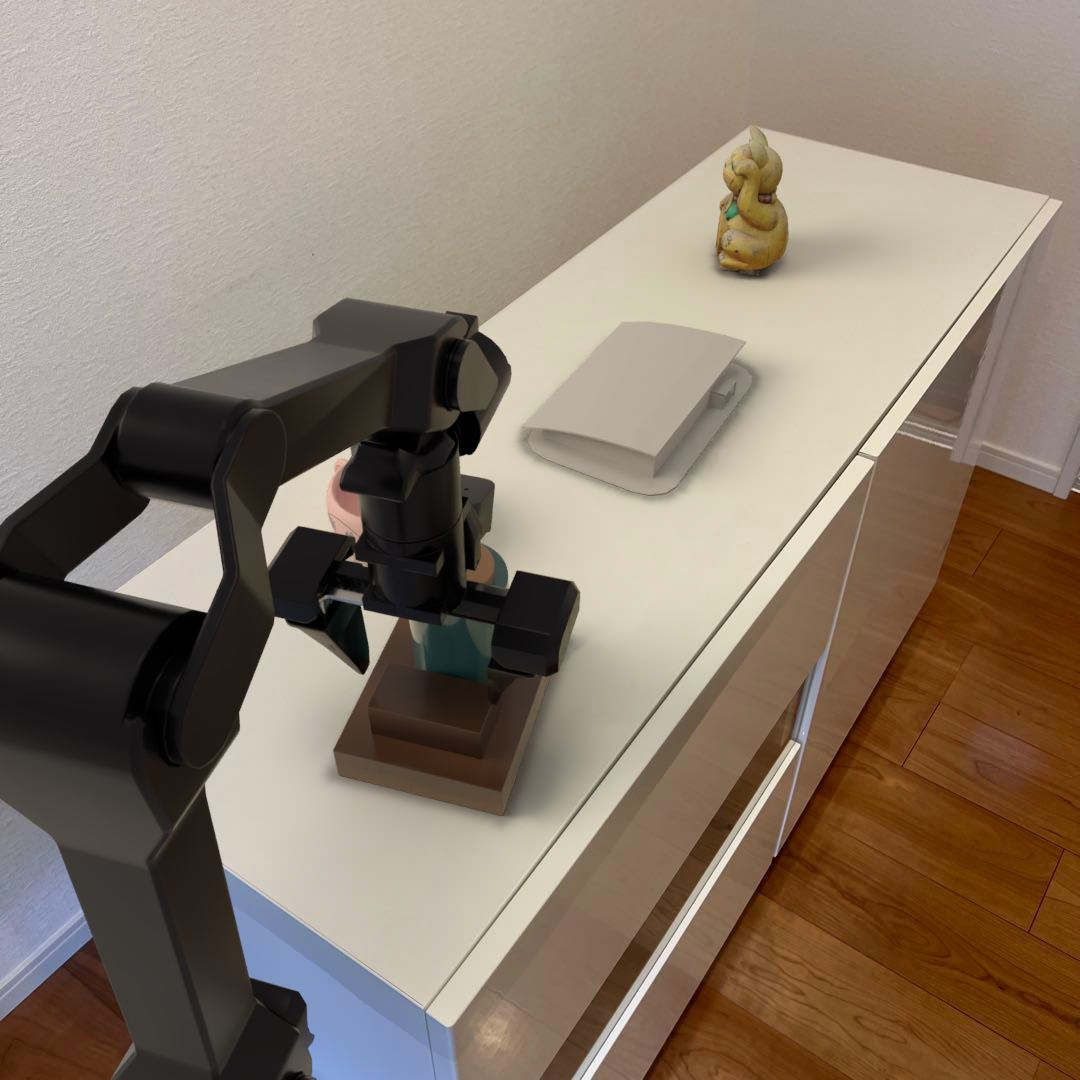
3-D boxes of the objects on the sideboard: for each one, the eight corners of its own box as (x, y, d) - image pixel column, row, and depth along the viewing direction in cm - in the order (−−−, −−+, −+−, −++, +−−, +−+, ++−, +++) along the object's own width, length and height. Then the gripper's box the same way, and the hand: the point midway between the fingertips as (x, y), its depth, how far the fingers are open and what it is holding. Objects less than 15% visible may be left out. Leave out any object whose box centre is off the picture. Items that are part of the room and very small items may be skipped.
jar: (471, 720, 69) (505, 547, 69) (369, 696, 71) (402, 527, 70) (509, 700, 80) (538, 551, 80) (420, 680, 82) (449, 533, 82)
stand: (502, 816, 73) (500, 765, 69) (337, 775, 75) (326, 723, 71) (562, 642, 84) (564, 589, 80) (417, 610, 86) (411, 557, 82)
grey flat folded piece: (761, 372, 110) (766, 339, 107) (663, 503, 95) (667, 469, 93) (626, 329, 115) (628, 297, 112) (515, 447, 101) (514, 414, 98)
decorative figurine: (711, 238, 129) (727, 114, 119) (780, 242, 129) (802, 118, 118) (712, 280, 122) (729, 153, 112) (786, 284, 122) (810, 156, 111)
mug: (474, 535, 92) (471, 483, 88) (385, 596, 87) (377, 543, 83) (384, 471, 98) (377, 420, 94) (295, 525, 93) (284, 473, 89)
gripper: (606, 450, 64) (595, 625, 75) (316, 398, 68) (346, 572, 78) (558, 579, 56) (553, 754, 67) (233, 513, 60) (279, 689, 71)
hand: (429, 684), depth 71 cm, fingers open, 9 cm apart
